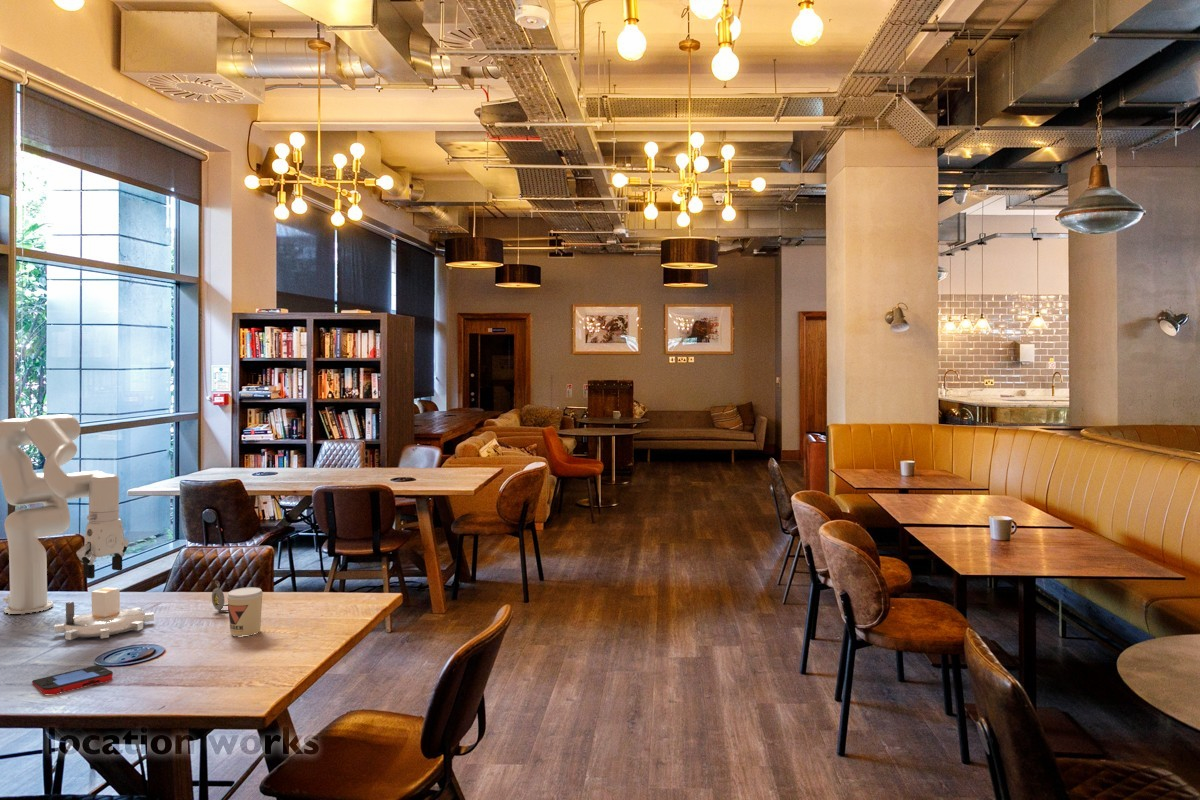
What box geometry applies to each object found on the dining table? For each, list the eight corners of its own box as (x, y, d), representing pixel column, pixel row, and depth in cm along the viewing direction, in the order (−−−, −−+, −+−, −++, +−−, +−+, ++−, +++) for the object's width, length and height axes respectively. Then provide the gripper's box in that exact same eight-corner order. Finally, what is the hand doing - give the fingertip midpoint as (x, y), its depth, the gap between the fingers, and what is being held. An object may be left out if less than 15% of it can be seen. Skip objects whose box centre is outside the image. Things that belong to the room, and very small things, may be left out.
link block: (91, 615, 238) (91, 591, 238) (106, 610, 243) (105, 587, 243) (105, 616, 237) (105, 592, 237) (119, 611, 242) (119, 588, 242)
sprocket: (51, 645, 218) (51, 615, 218) (57, 621, 239) (57, 594, 239) (155, 630, 231) (154, 602, 230) (152, 609, 252) (151, 583, 251)
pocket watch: (245, 607, 258) (244, 575, 258) (230, 615, 250) (230, 582, 249) (220, 606, 259) (220, 575, 258) (205, 614, 250) (204, 582, 250)
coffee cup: (220, 635, 230) (219, 593, 230) (248, 626, 238) (247, 585, 238) (242, 640, 226) (242, 597, 226) (270, 630, 234) (269, 589, 234)
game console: (99, 669, 205) (99, 660, 205) (115, 682, 196) (115, 672, 196) (31, 684, 194) (30, 675, 194) (45, 699, 186) (45, 689, 186)
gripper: (88, 522, 230) (88, 582, 231) (138, 512, 247) (137, 568, 247) (67, 520, 232) (67, 579, 233) (117, 510, 249) (117, 565, 249)
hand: (103, 573), depth 240 cm, fingers open, 9 cm apart
